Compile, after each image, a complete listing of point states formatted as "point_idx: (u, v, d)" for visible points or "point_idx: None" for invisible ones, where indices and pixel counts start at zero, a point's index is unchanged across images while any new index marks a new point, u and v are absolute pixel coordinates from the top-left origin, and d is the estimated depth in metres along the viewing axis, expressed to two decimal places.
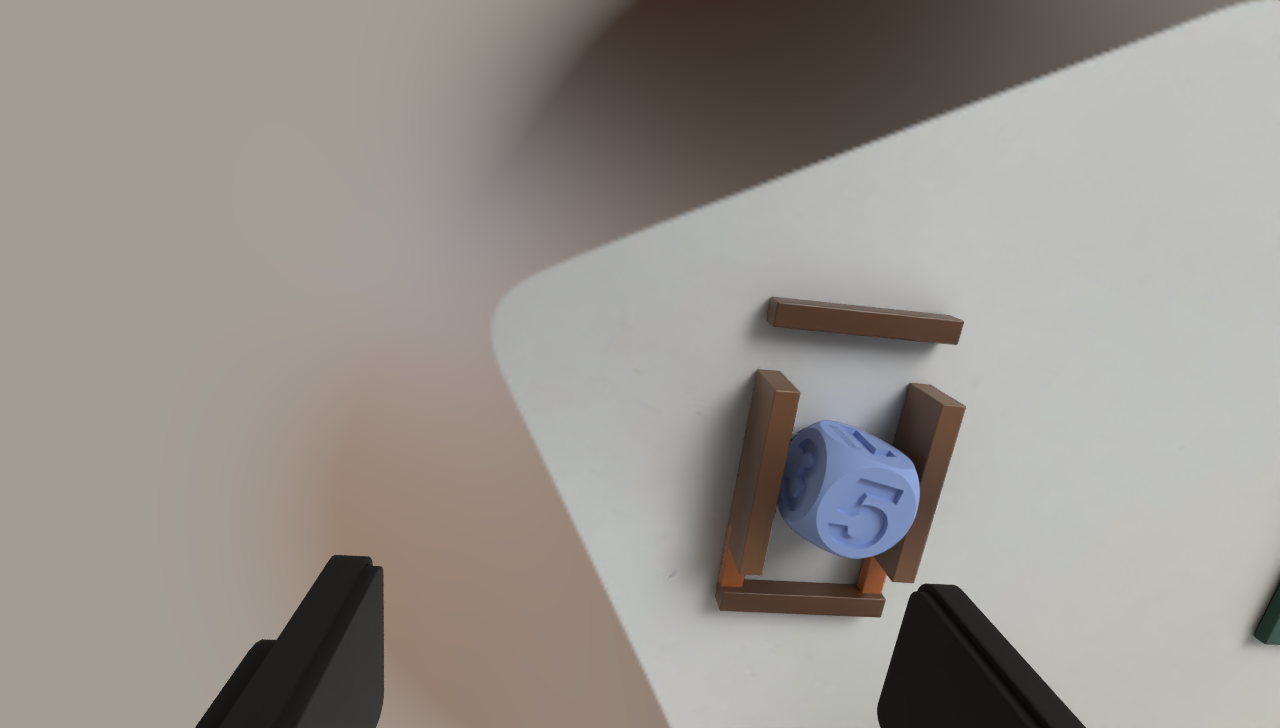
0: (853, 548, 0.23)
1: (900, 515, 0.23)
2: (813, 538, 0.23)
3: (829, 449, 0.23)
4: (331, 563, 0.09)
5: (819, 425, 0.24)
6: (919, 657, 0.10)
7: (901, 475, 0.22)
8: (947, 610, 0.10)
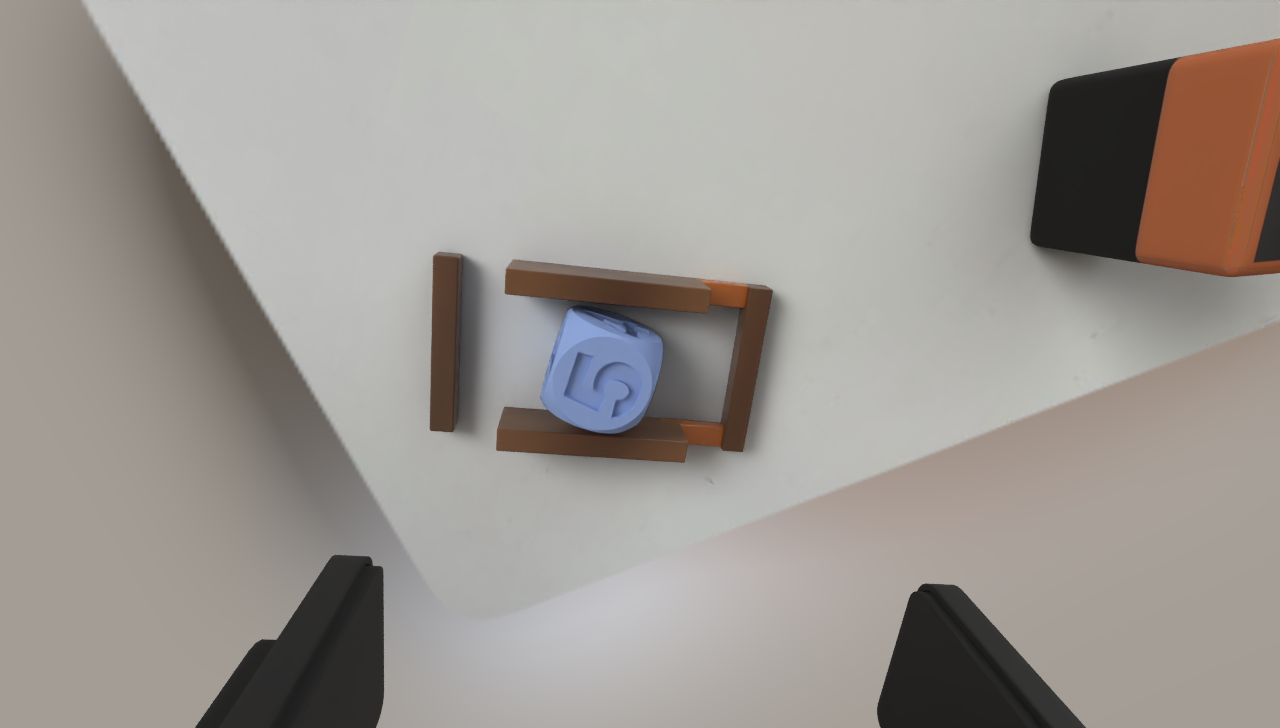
0: (641, 390, 0.23)
1: (606, 350, 0.23)
2: (632, 424, 0.24)
3: (547, 407, 0.24)
4: (331, 563, 0.09)
5: (542, 389, 0.26)
6: (919, 657, 0.10)
7: (561, 355, 0.23)
8: (947, 610, 0.10)
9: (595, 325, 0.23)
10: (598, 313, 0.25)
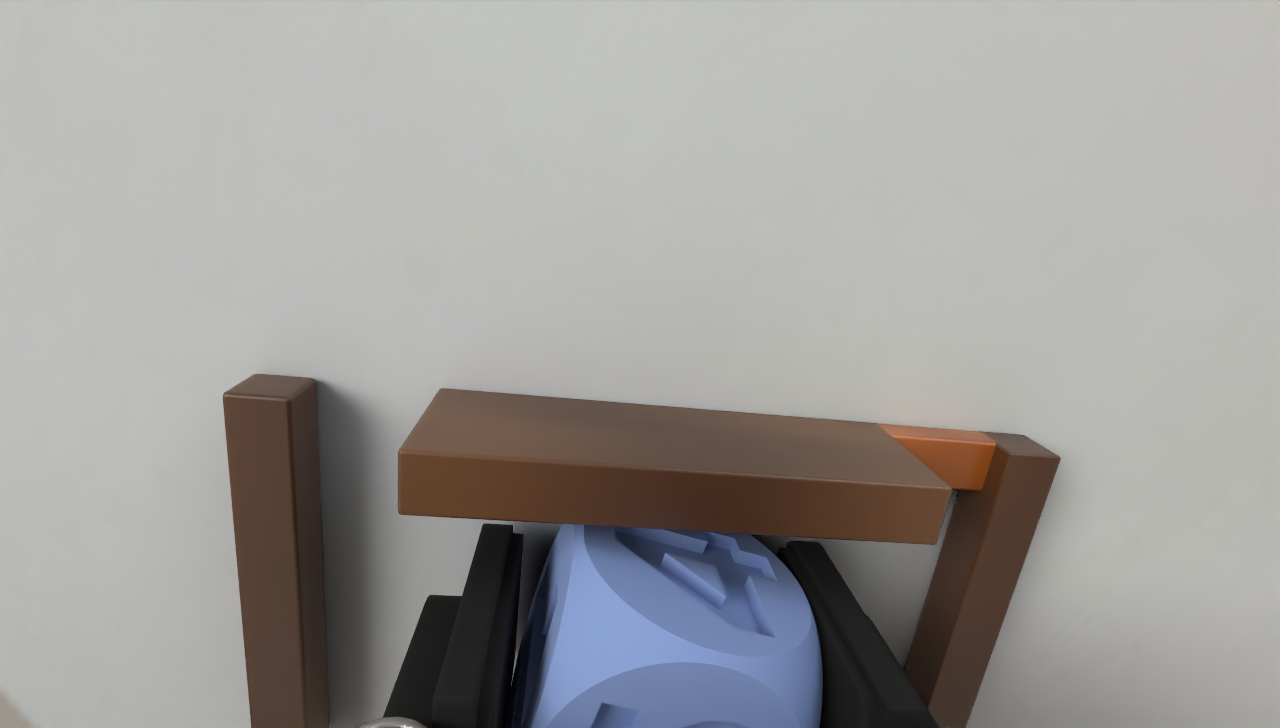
0: None
1: (683, 696, 0.08)
2: None
3: None
4: (484, 530, 0.10)
5: (511, 693, 0.11)
6: None
7: (553, 713, 0.08)
8: (802, 563, 0.11)
9: (651, 615, 0.08)
10: None
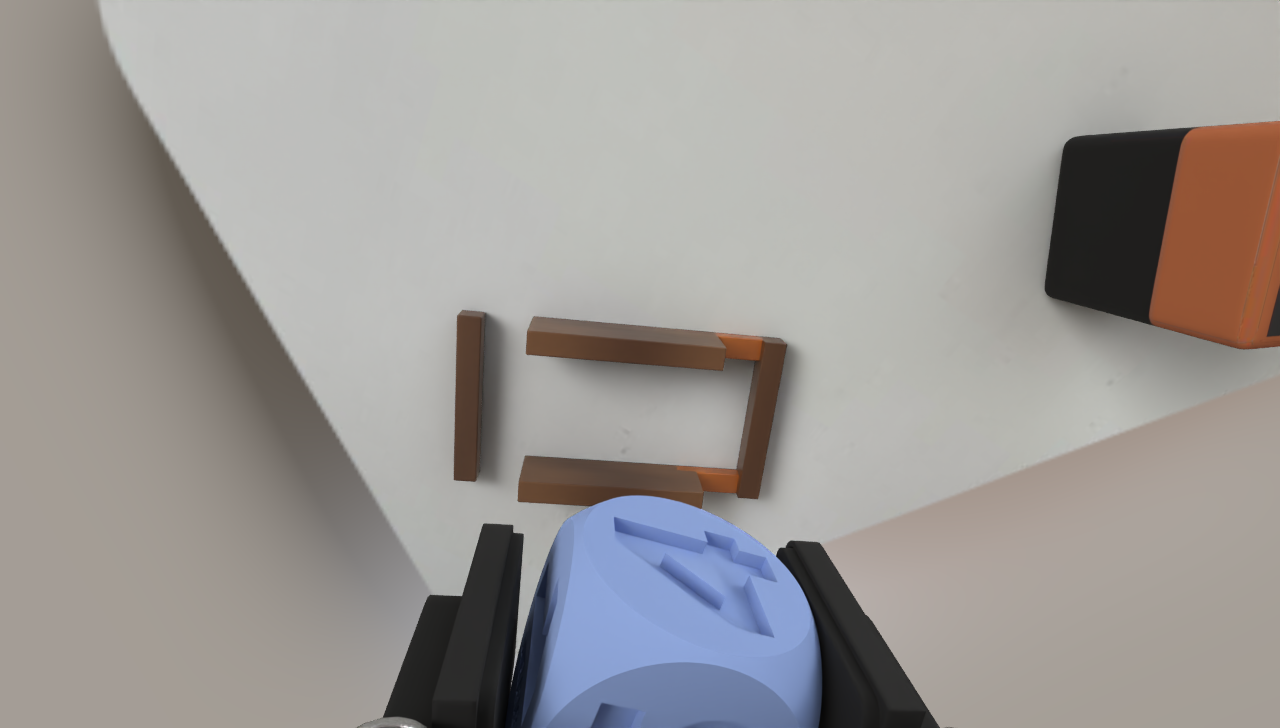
0: None
1: (683, 696, 0.08)
2: None
3: None
4: (484, 530, 0.10)
5: (511, 693, 0.11)
6: None
7: (552, 713, 0.08)
8: (802, 562, 0.11)
9: (650, 616, 0.08)
10: (647, 522, 0.10)
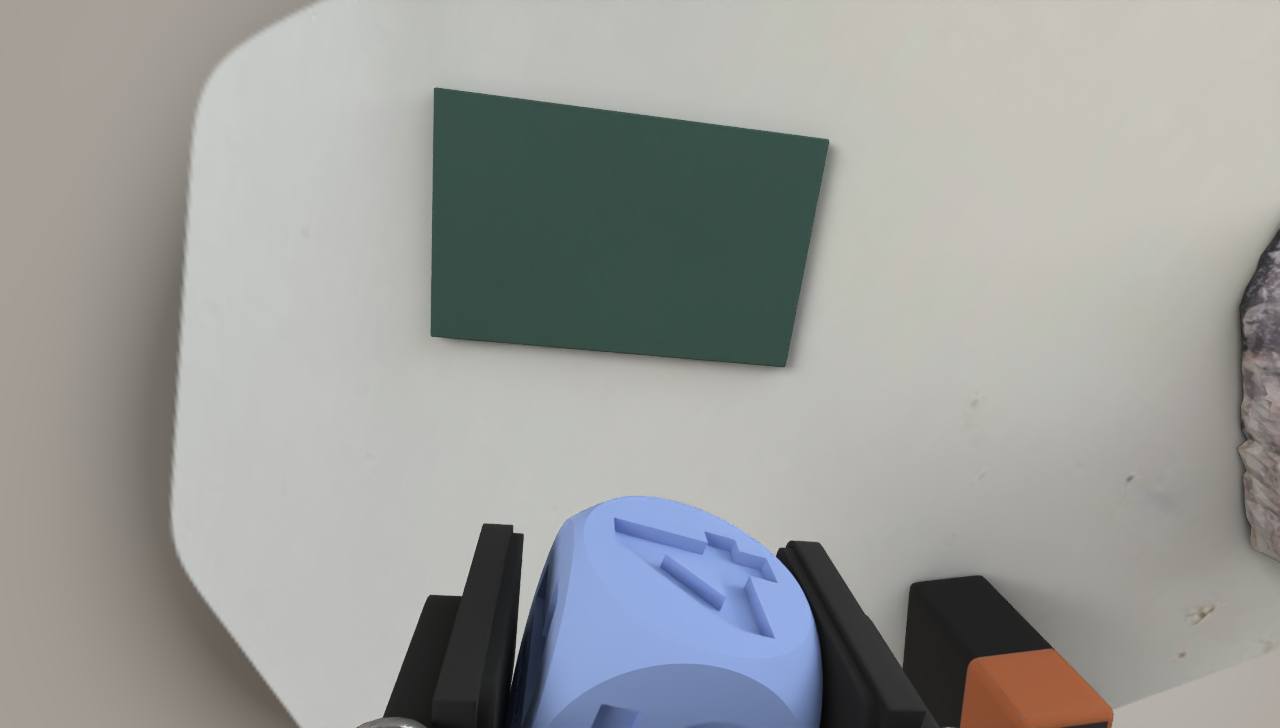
0: None
1: (683, 698, 0.08)
2: None
3: None
4: (484, 529, 0.10)
5: None
6: None
7: (553, 714, 0.08)
8: (802, 563, 0.11)
9: (650, 617, 0.08)
10: (647, 523, 0.10)
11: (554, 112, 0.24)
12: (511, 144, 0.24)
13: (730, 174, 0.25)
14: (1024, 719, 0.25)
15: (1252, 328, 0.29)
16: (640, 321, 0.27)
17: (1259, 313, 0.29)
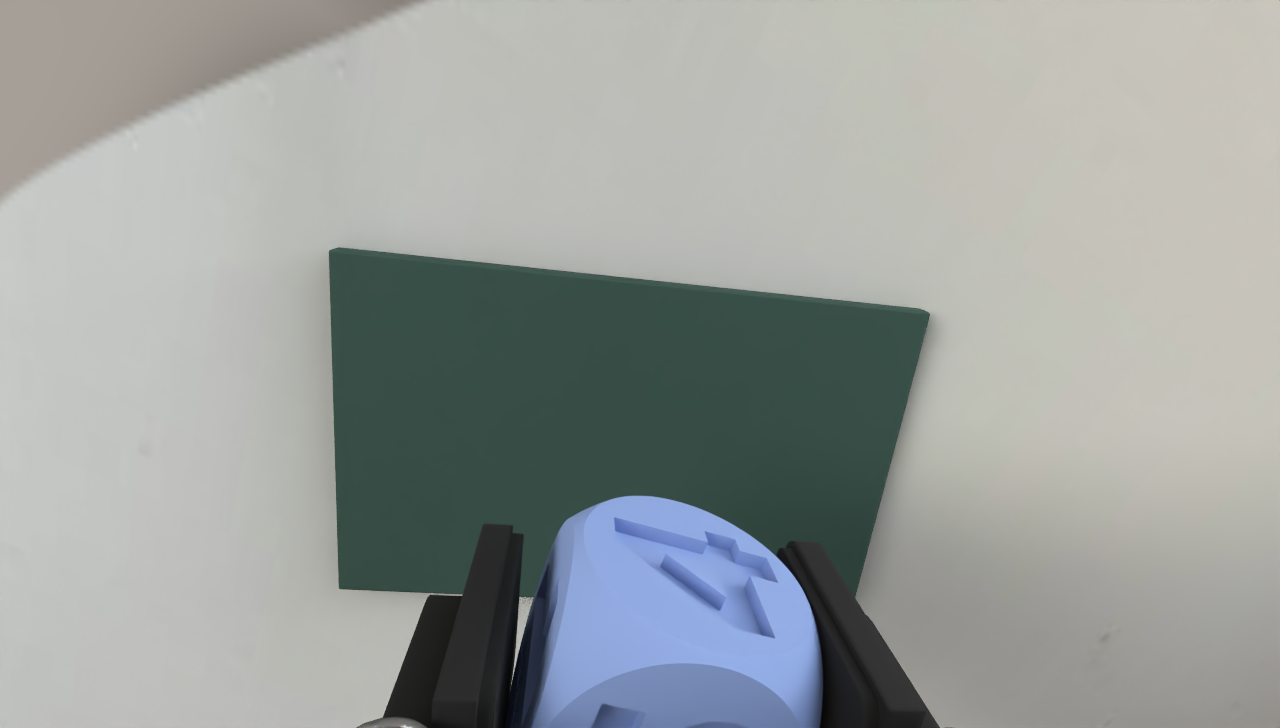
0: None
1: (683, 697, 0.08)
2: None
3: None
4: (484, 530, 0.10)
5: None
6: None
7: (553, 714, 0.08)
8: (802, 563, 0.11)
9: (651, 616, 0.08)
10: (647, 523, 0.10)
11: (517, 282, 0.16)
12: (452, 329, 0.16)
13: (782, 364, 0.17)
14: None
15: None
16: None
17: None
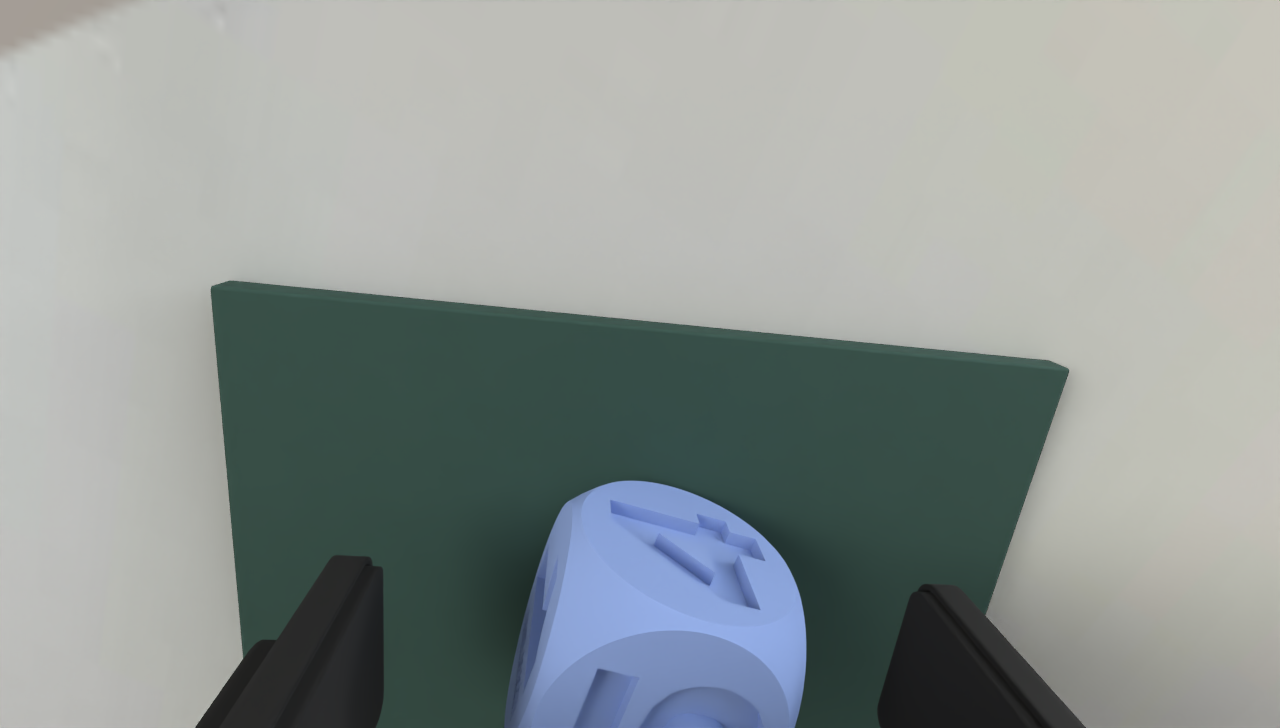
0: None
1: (673, 663, 0.08)
2: None
3: None
4: (331, 563, 0.09)
5: (513, 669, 0.11)
6: (919, 657, 0.10)
7: (552, 678, 0.08)
8: (947, 610, 0.10)
9: (643, 588, 0.09)
10: (642, 505, 0.11)
11: (489, 331, 0.11)
12: (395, 396, 0.11)
13: (861, 440, 0.12)
14: None
15: None
16: None
17: None
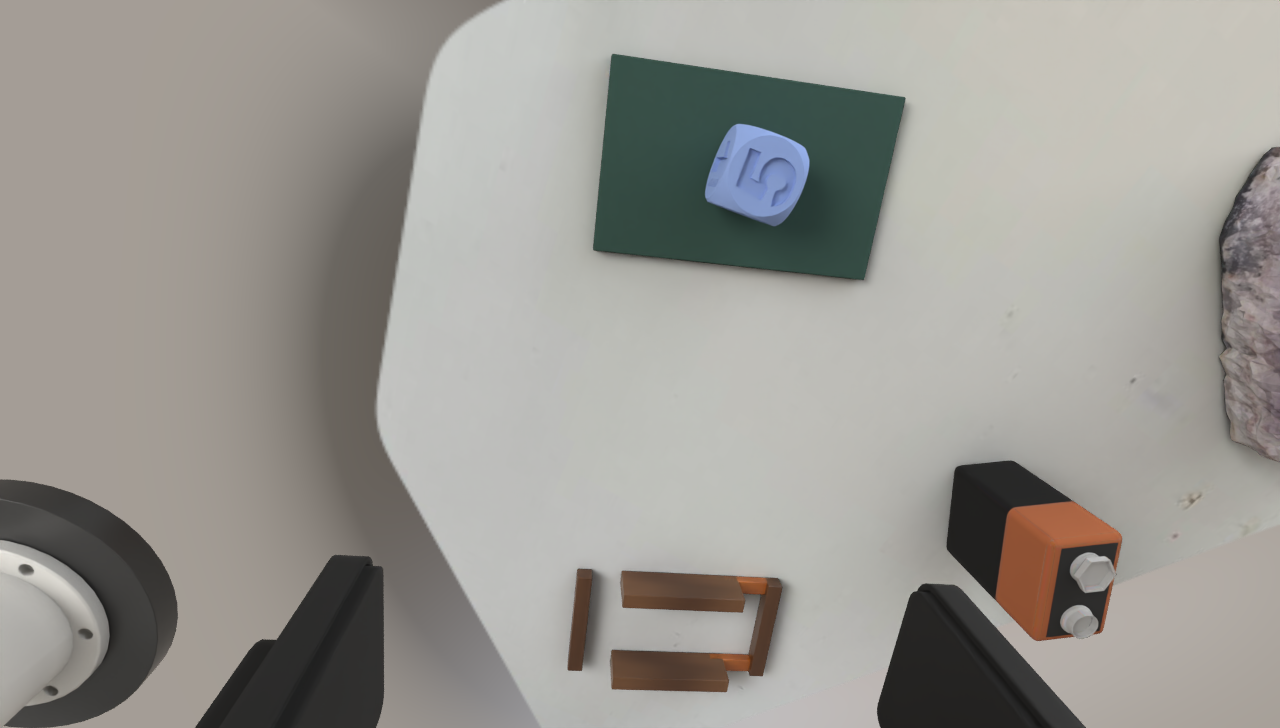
0: (795, 183, 0.30)
1: (771, 147, 0.29)
2: (784, 214, 0.30)
3: (716, 202, 0.31)
4: (331, 563, 0.09)
5: None
6: (919, 657, 0.10)
7: (736, 151, 0.29)
8: (947, 610, 0.10)
9: (762, 129, 0.29)
10: None
11: (700, 74, 0.32)
12: (666, 98, 0.32)
13: (829, 124, 0.33)
14: (1053, 540, 0.32)
15: (1229, 253, 0.37)
16: (754, 240, 0.34)
17: (1234, 241, 0.36)
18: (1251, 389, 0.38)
